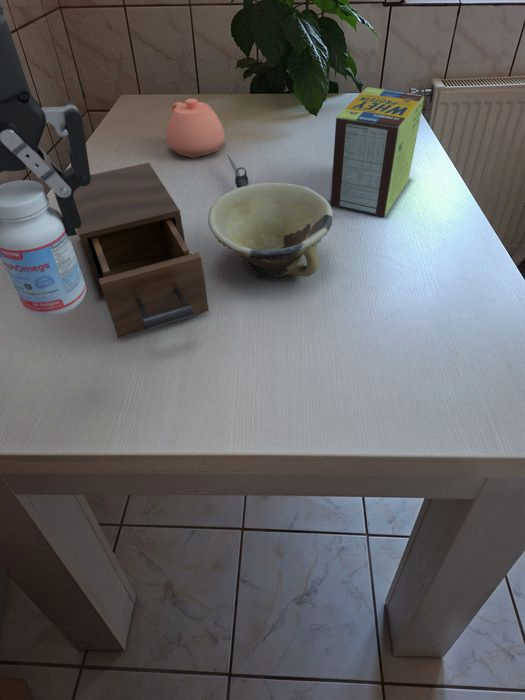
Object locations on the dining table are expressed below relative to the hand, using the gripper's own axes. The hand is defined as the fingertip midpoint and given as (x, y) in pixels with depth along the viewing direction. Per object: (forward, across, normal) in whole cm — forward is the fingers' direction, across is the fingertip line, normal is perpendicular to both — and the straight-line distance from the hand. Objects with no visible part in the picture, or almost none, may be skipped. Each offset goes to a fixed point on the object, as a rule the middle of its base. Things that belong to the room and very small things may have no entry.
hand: (33, 240), depth 44 cm
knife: (+21, -35, -41) cm, 58 cm away
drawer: (+20, -11, -13) cm, 26 cm away
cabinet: (+21, -11, -27) cm, 36 cm away
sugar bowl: (+21, -33, -62) cm, 73 cm away
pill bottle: (+7, 0, 0) cm, 7 cm away
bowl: (+21, -30, -15) cm, 40 cm away
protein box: (+21, -56, -28) cm, 66 cm away
